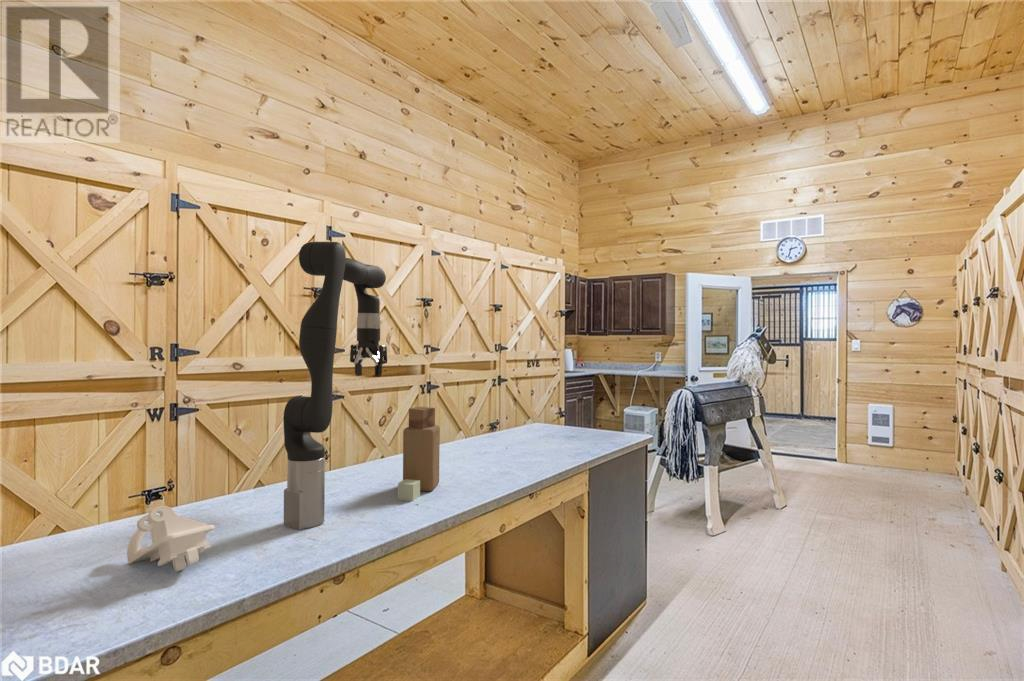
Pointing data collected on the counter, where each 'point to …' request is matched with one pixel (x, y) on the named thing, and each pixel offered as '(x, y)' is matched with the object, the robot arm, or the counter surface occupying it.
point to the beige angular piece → (169, 538)
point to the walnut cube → (421, 417)
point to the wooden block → (421, 456)
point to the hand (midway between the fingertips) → (368, 376)
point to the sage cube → (409, 490)
